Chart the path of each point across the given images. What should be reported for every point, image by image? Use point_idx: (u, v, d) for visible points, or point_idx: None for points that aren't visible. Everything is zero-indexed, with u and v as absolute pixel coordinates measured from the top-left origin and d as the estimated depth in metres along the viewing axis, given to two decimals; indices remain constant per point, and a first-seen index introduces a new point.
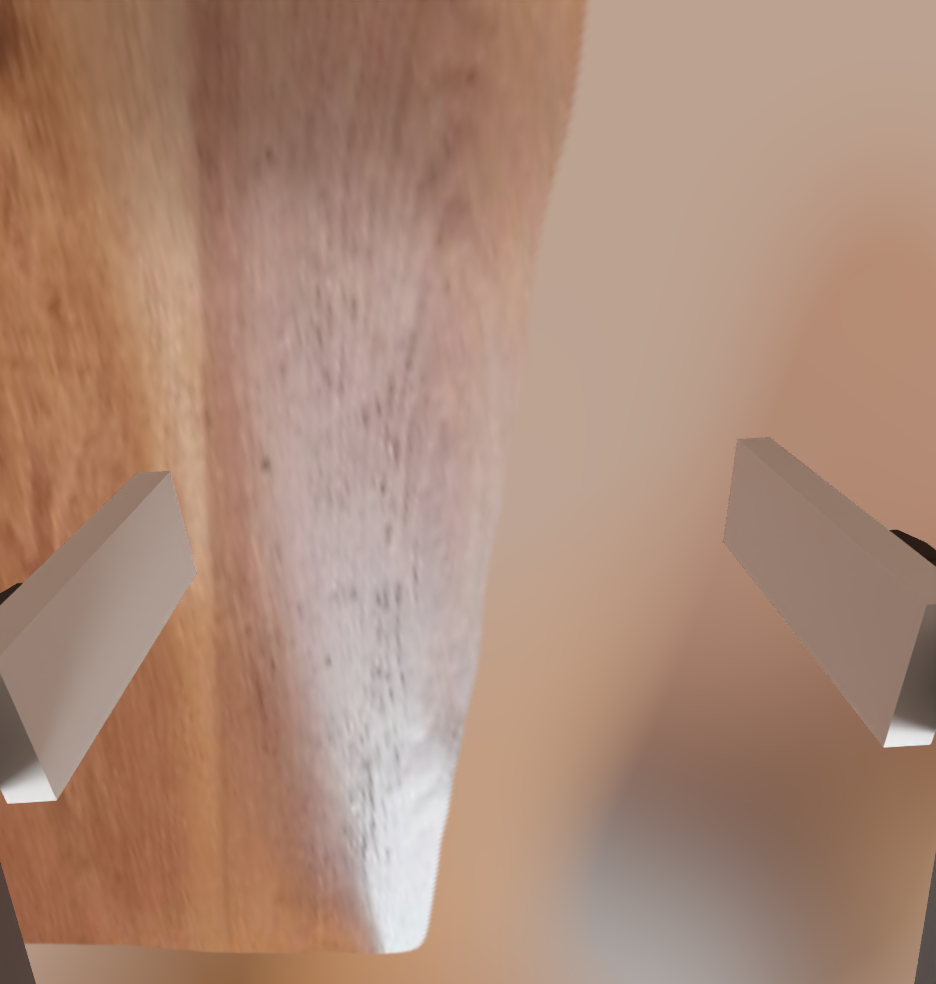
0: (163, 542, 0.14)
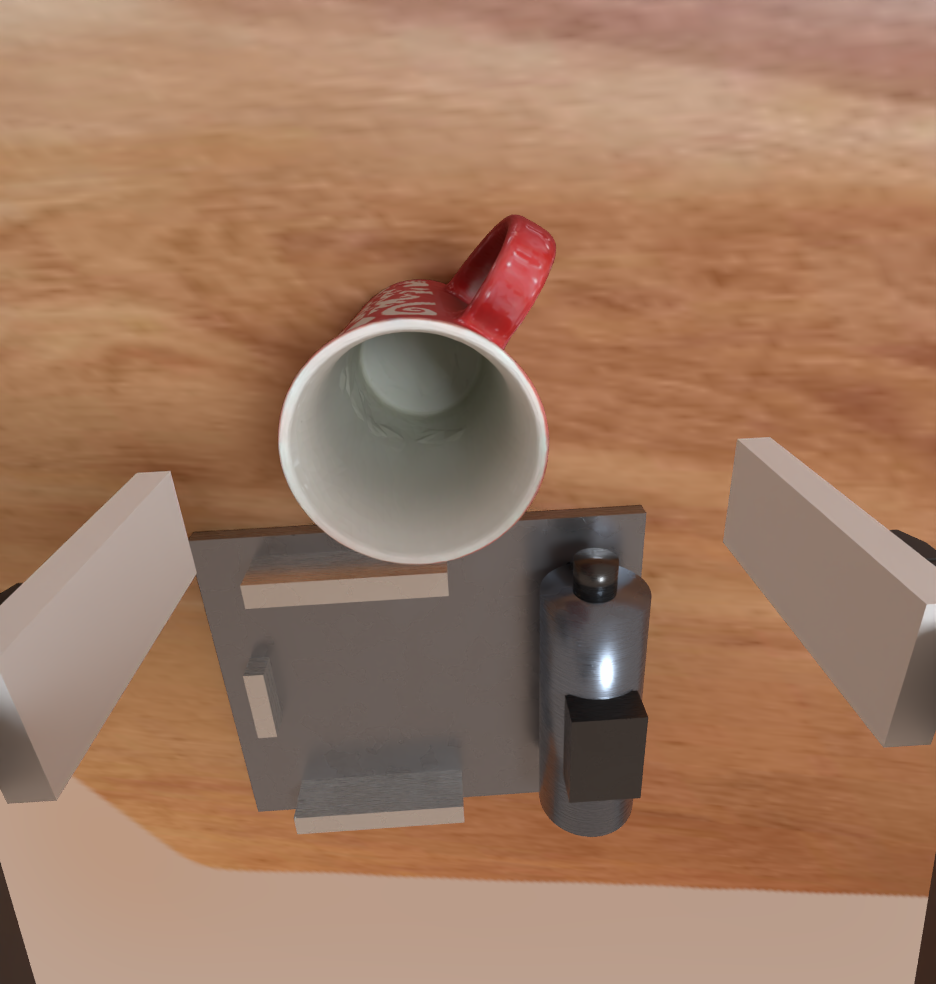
0: (163, 542, 0.14)
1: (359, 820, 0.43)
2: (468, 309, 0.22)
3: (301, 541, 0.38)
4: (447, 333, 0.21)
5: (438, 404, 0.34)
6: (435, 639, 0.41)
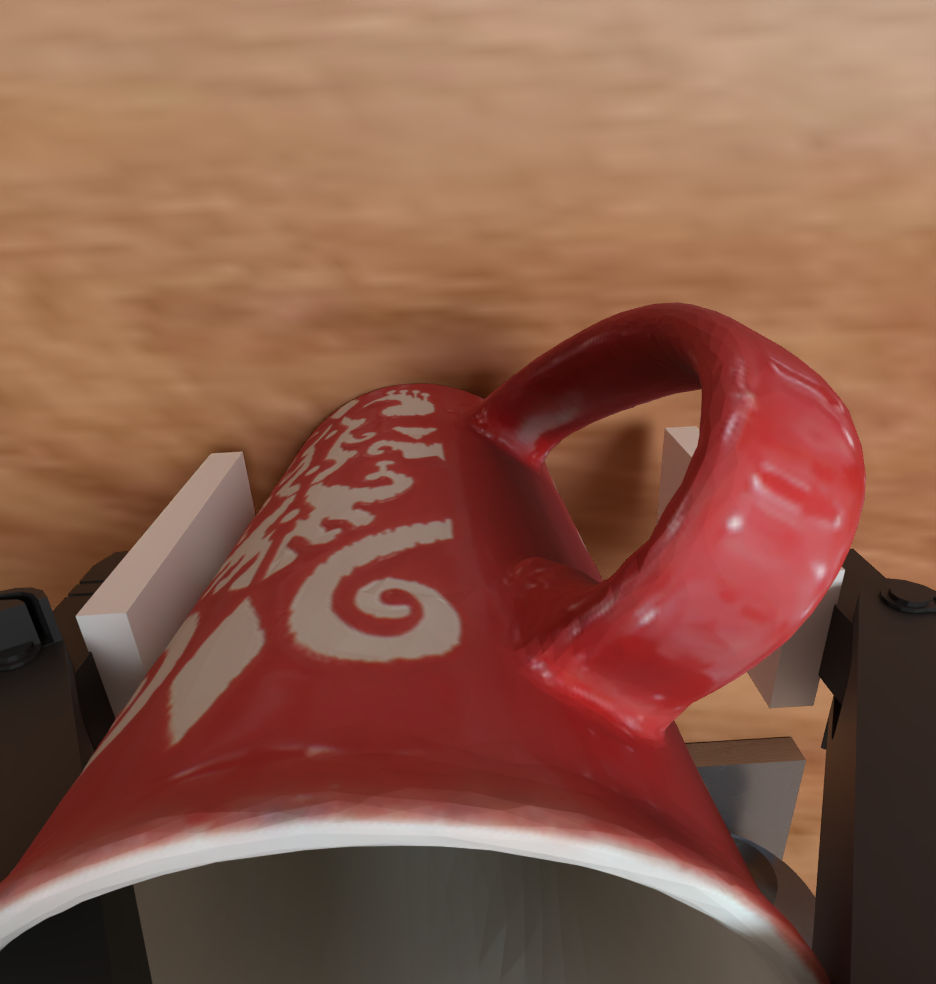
0: (238, 518, 0.15)
1: None
2: (567, 637, 0.07)
3: None
4: (513, 853, 0.05)
5: None
6: None
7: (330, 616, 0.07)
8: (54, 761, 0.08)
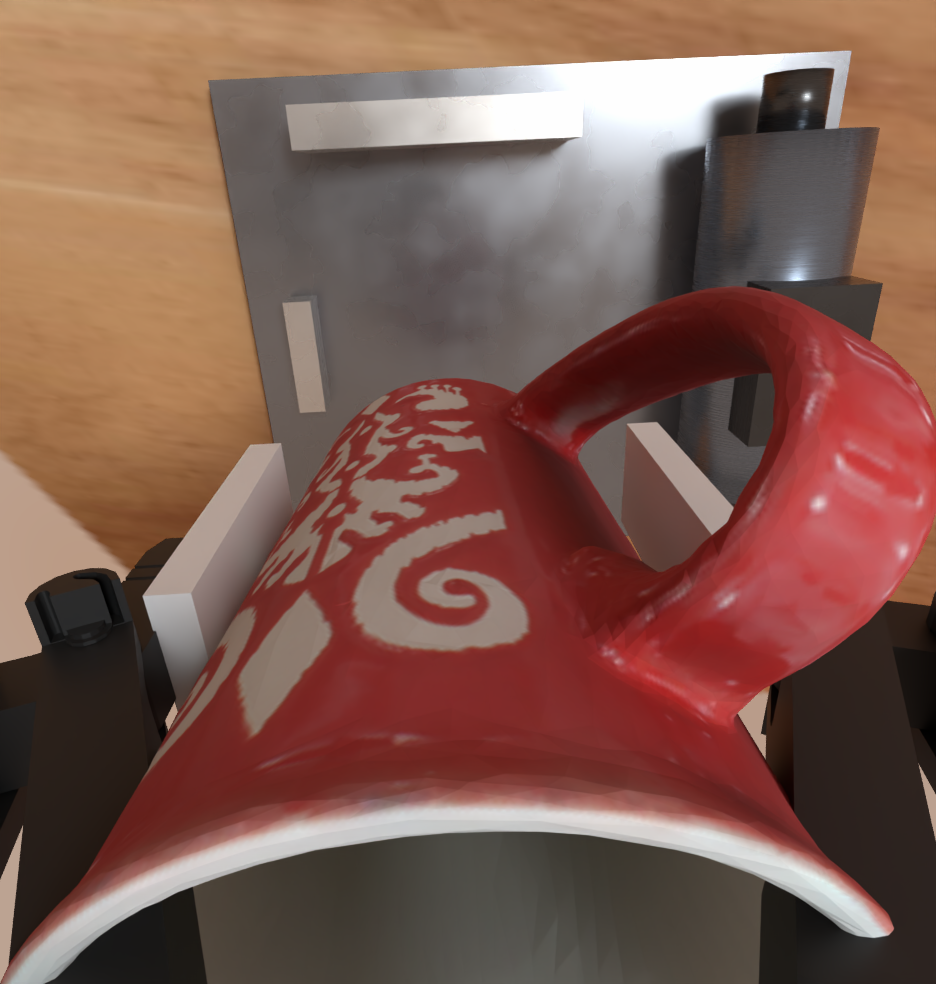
0: (278, 507, 0.16)
1: None
2: (640, 623, 0.07)
3: (367, 86, 0.27)
4: (611, 838, 0.05)
5: None
6: (543, 270, 0.30)
7: (395, 607, 0.07)
8: (120, 737, 0.08)
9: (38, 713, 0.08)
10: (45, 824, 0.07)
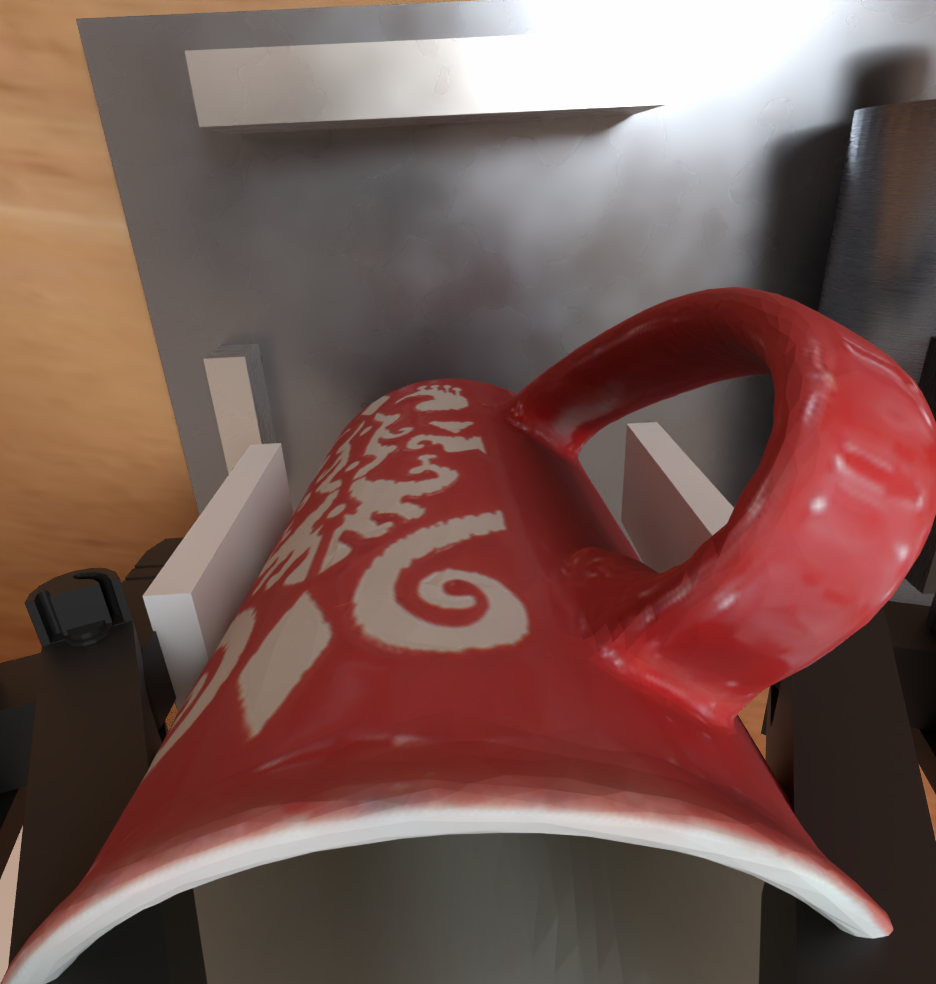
0: (278, 507, 0.16)
1: None
2: (640, 624, 0.07)
3: (326, 29, 0.17)
4: (611, 839, 0.05)
5: None
6: (589, 307, 0.21)
7: (395, 608, 0.07)
8: (120, 737, 0.08)
9: (37, 713, 0.08)
10: (45, 824, 0.07)
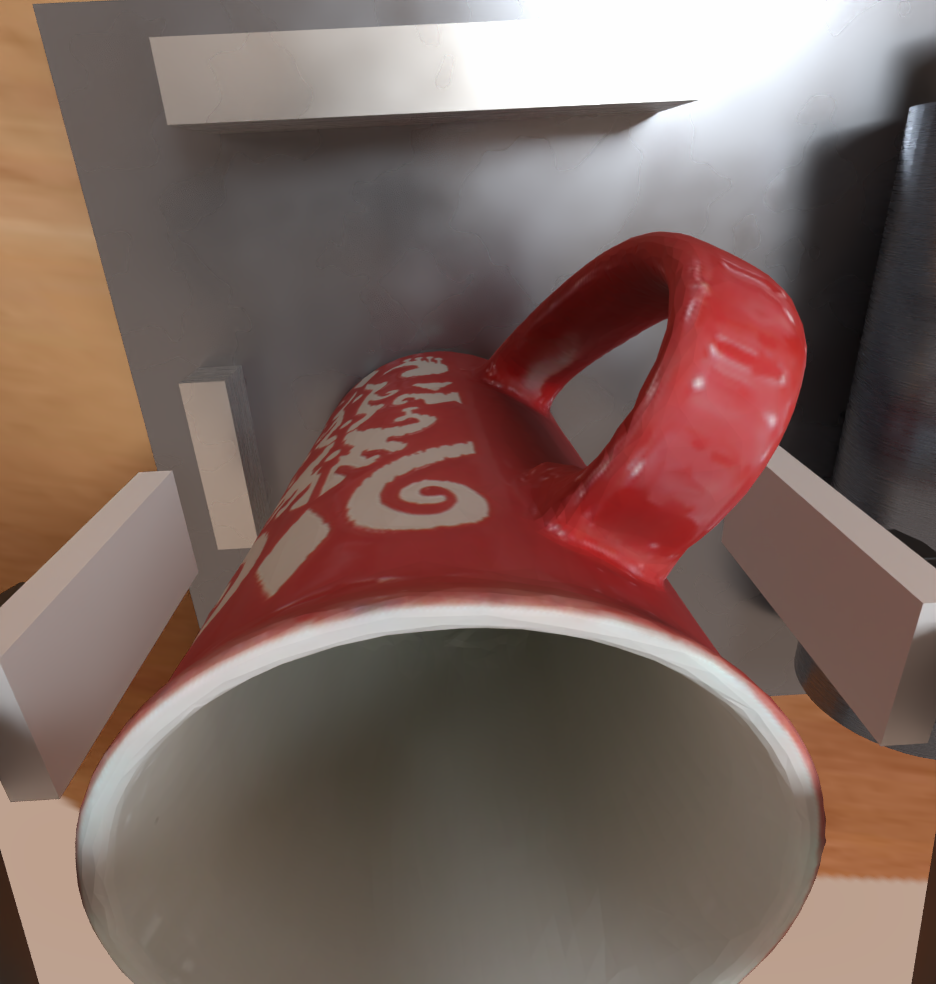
0: (165, 541, 0.14)
1: None
2: (575, 500, 0.08)
3: (314, 16, 0.15)
4: (542, 631, 0.06)
5: None
6: None
7: (381, 507, 0.09)
8: None
9: None
10: None
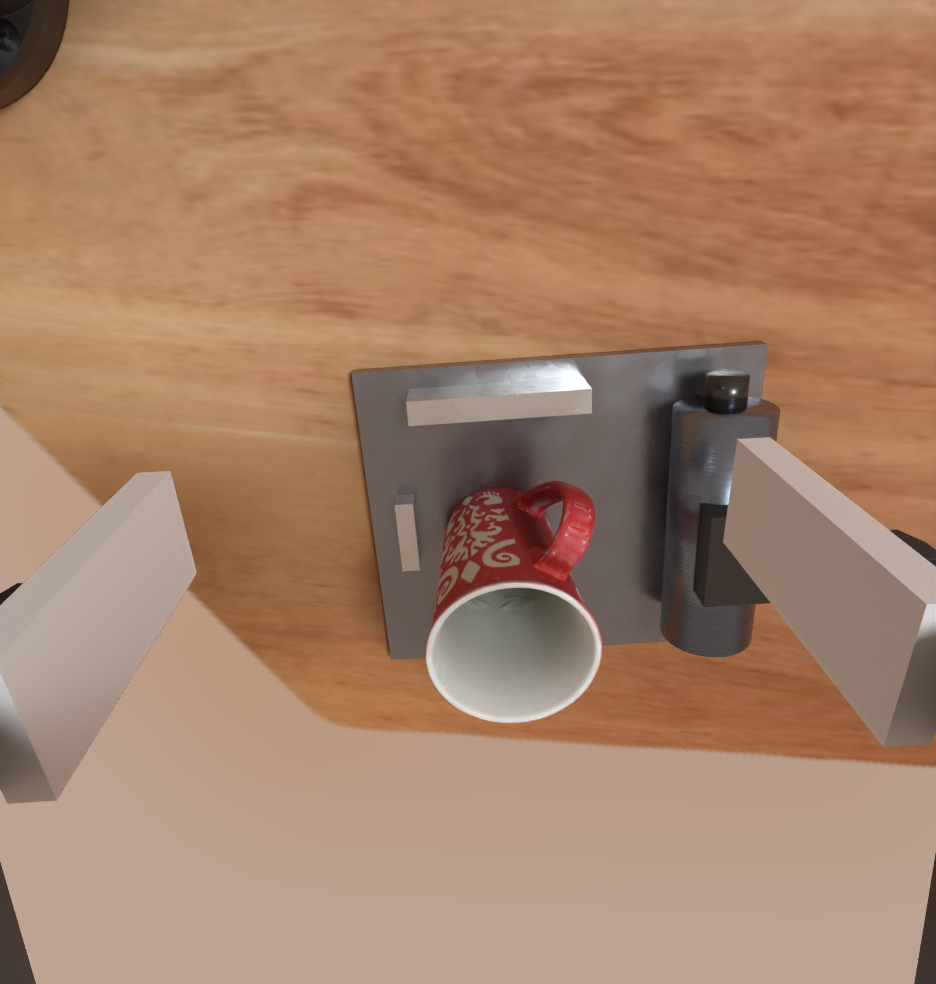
0: (163, 542, 0.14)
1: None
2: (541, 559, 0.34)
3: (452, 373, 0.42)
4: (531, 588, 0.32)
5: None
6: (567, 475, 0.44)
7: (492, 560, 0.35)
8: None
9: None
10: None
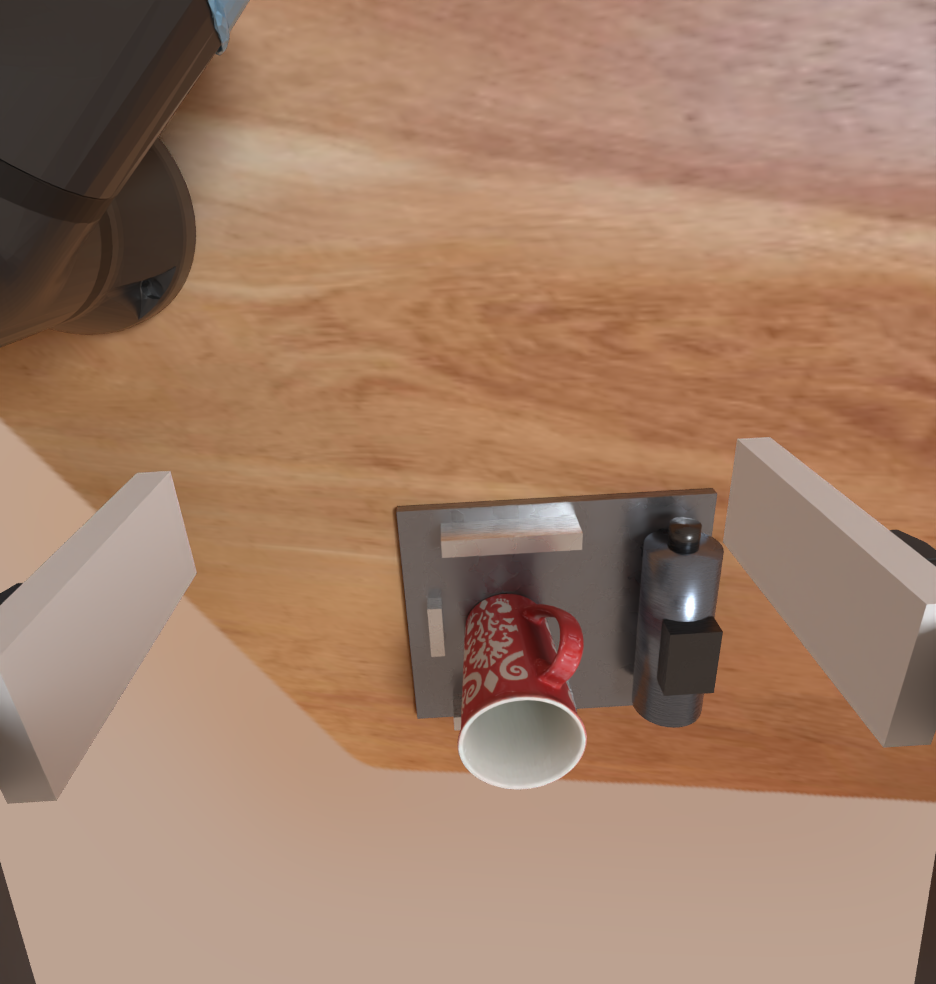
0: (163, 542, 0.14)
1: None
2: (543, 674, 0.47)
3: (475, 512, 0.54)
4: (537, 700, 0.45)
5: None
6: (561, 585, 0.57)
7: (507, 673, 0.47)
8: None
9: None
10: None
